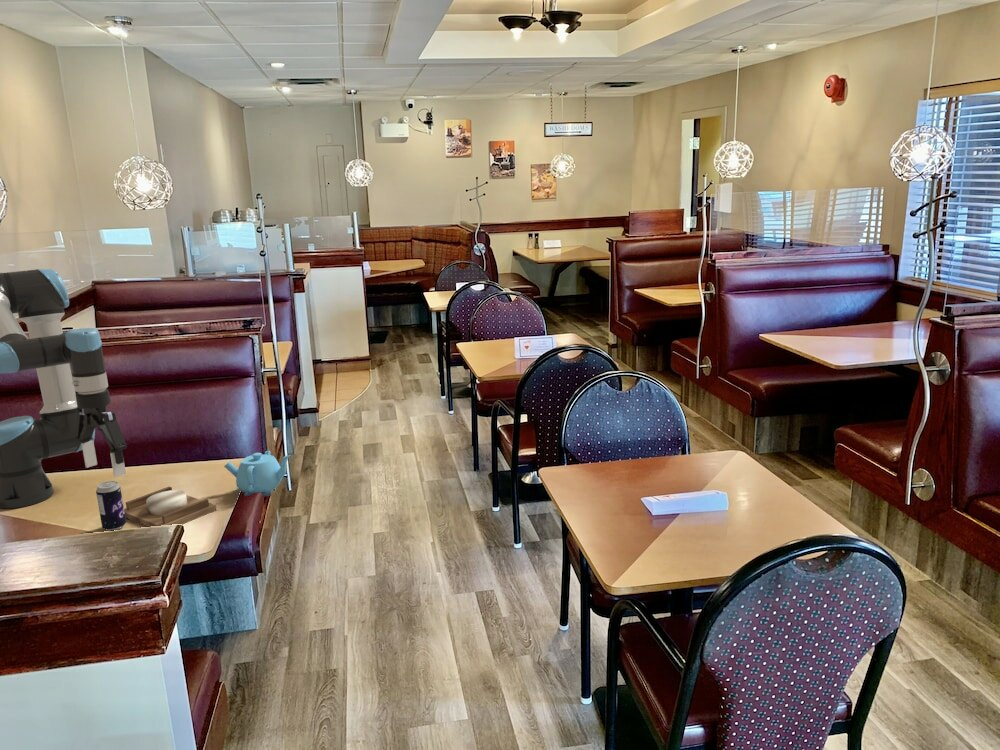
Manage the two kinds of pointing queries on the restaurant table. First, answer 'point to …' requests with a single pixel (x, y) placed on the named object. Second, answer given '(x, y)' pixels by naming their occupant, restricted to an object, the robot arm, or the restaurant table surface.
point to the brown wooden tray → (167, 508)
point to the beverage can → (110, 505)
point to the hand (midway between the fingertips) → (105, 470)
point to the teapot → (258, 473)
